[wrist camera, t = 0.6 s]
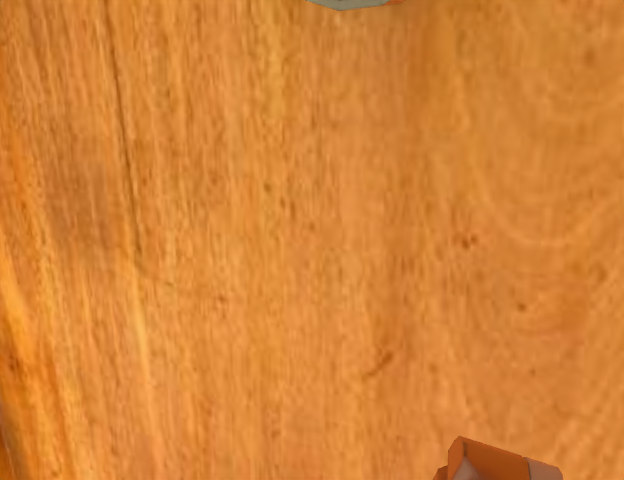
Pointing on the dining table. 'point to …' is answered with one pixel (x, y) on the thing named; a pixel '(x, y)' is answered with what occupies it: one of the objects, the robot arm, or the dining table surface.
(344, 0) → the gray bowl
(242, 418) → the dining table surface
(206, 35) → the dining table surface
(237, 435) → the dining table surface
